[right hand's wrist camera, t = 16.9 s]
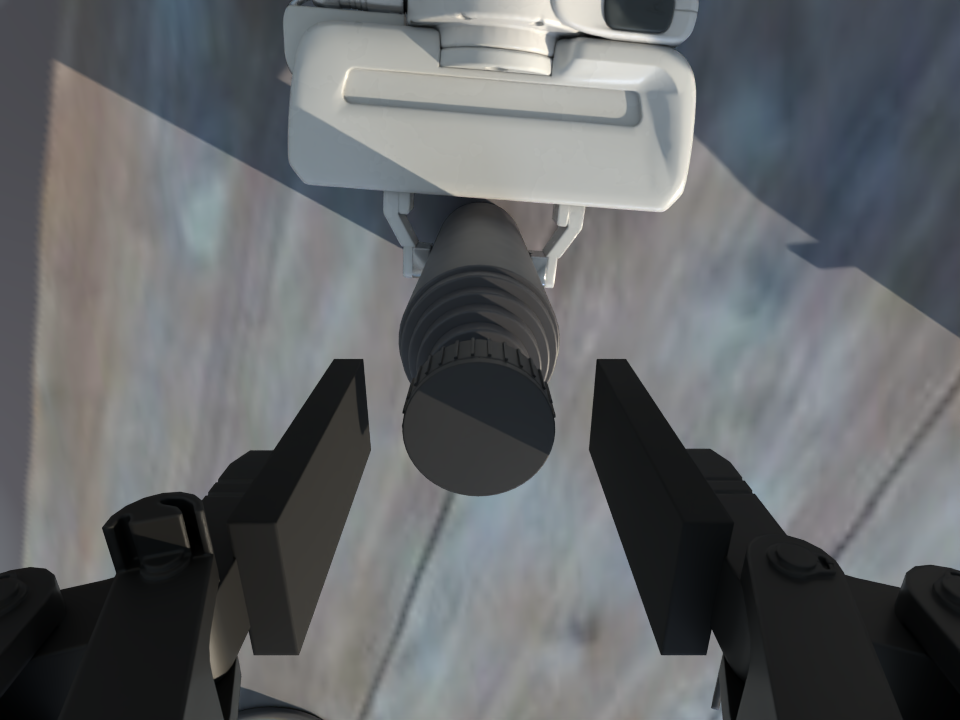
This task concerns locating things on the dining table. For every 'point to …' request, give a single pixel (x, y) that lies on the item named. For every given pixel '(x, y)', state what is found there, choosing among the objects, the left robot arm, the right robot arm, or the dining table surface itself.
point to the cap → (478, 418)
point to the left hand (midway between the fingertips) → (479, 280)
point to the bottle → (479, 292)
